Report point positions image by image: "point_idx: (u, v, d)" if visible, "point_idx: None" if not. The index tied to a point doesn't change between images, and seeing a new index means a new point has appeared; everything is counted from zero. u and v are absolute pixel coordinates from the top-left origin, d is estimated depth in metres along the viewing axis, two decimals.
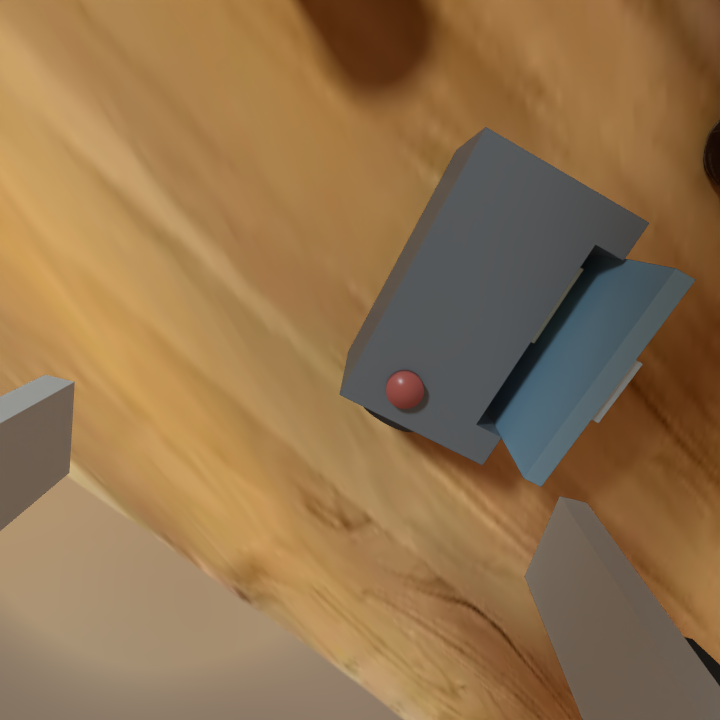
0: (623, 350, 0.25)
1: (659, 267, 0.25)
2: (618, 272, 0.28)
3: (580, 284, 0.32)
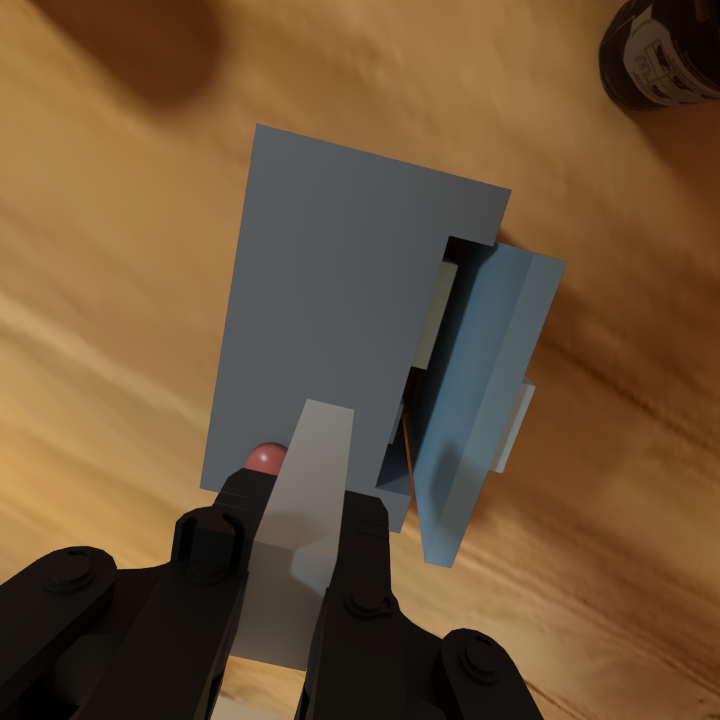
0: (498, 377, 0.18)
1: (521, 252, 0.17)
2: (493, 262, 0.21)
3: (468, 281, 0.25)
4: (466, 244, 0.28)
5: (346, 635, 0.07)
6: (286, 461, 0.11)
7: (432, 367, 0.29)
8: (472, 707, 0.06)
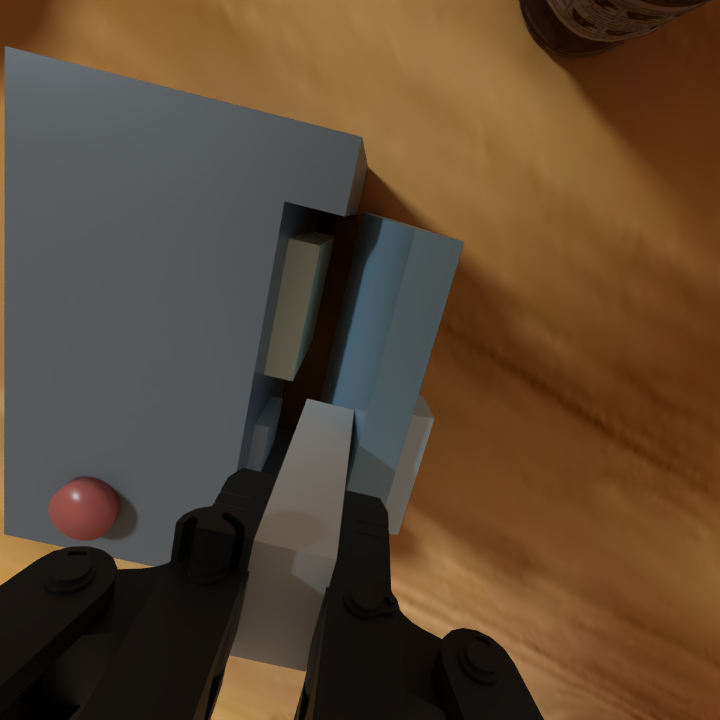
0: (379, 411, 0.12)
1: (404, 230, 0.12)
2: (380, 246, 0.16)
3: (362, 273, 0.19)
4: (364, 225, 0.22)
5: (346, 635, 0.07)
6: (286, 461, 0.11)
7: (331, 379, 0.23)
8: (472, 707, 0.06)
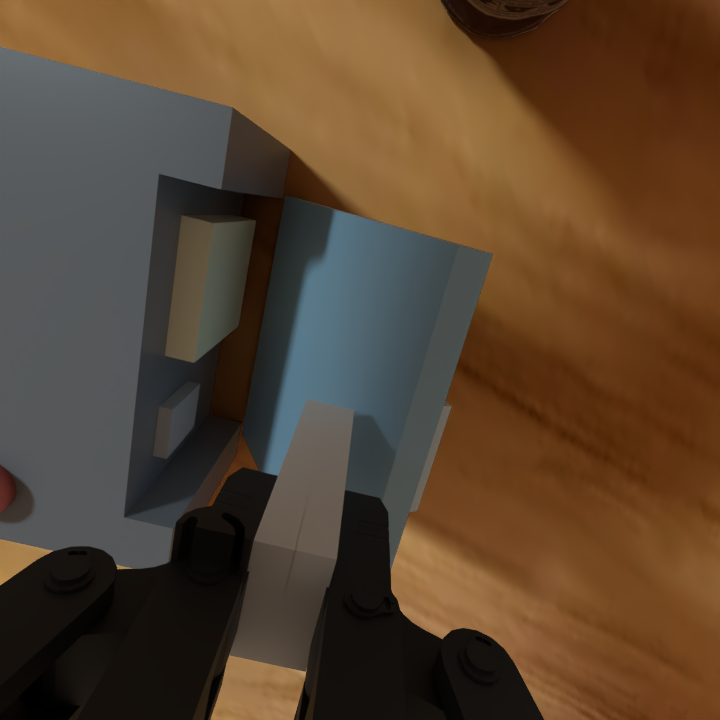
0: (418, 409, 0.13)
1: (428, 241, 0.13)
2: (365, 246, 0.16)
3: (319, 266, 0.19)
4: (298, 213, 0.22)
5: (346, 635, 0.07)
6: (286, 461, 0.11)
7: (276, 371, 0.23)
8: (472, 707, 0.06)
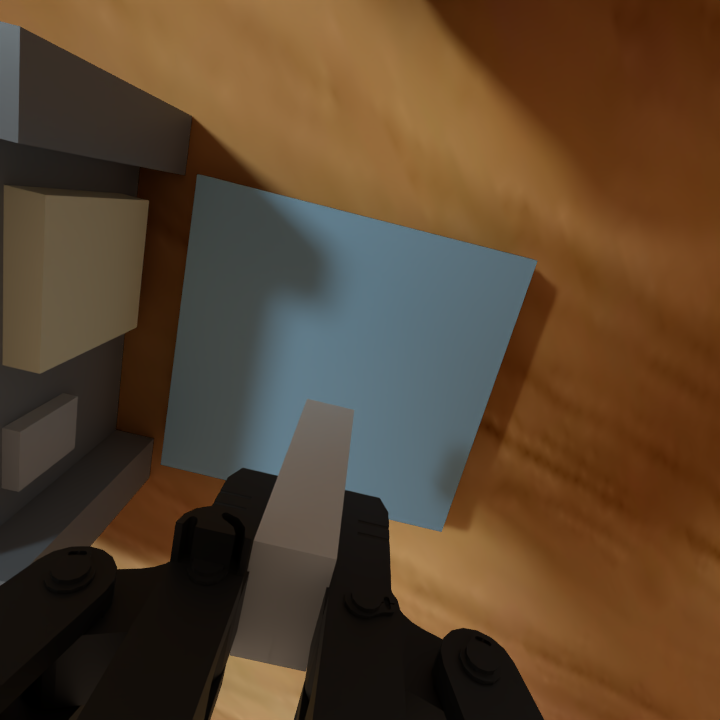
0: None
1: (504, 255, 0.19)
2: (417, 252, 0.19)
3: (329, 266, 0.20)
4: (252, 203, 0.19)
5: (346, 635, 0.07)
6: (286, 461, 0.11)
7: (250, 379, 0.21)
8: (472, 707, 0.06)
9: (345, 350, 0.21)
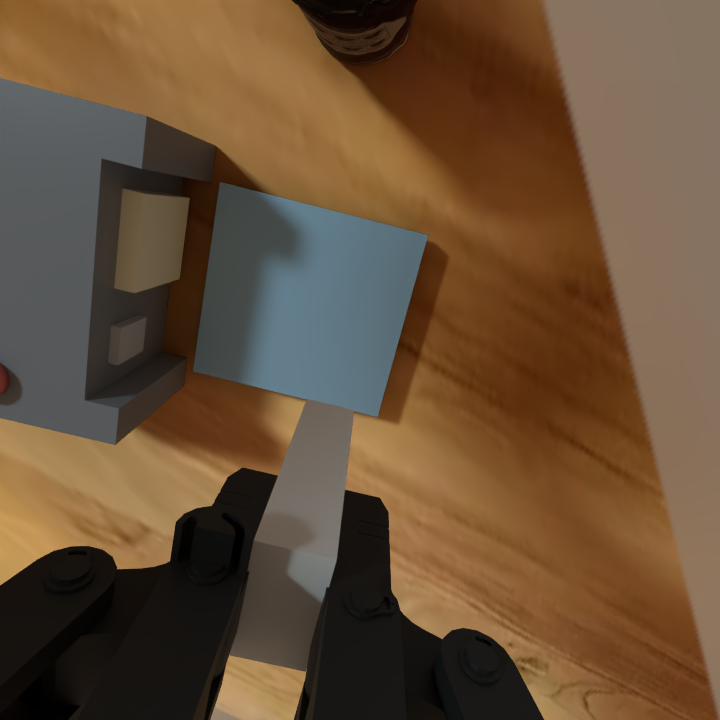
0: (409, 301, 0.33)
1: (408, 231, 0.31)
2: (354, 230, 0.31)
3: (300, 239, 0.32)
4: (253, 200, 0.31)
5: (346, 635, 0.07)
6: (286, 461, 0.11)
7: (251, 312, 0.33)
8: (472, 707, 0.06)
9: (311, 293, 0.33)
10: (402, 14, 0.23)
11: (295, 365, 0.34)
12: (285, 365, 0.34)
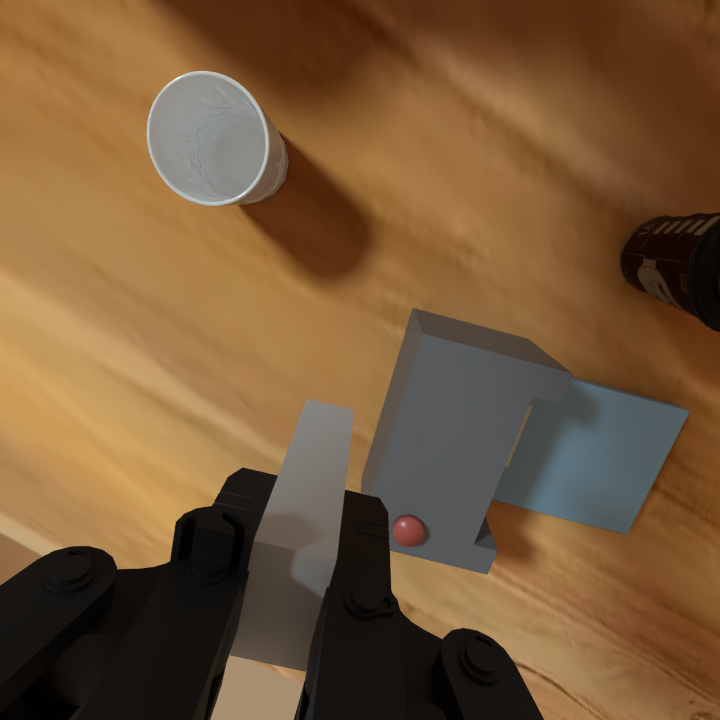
0: None
1: (675, 408, 0.42)
2: (634, 406, 0.42)
3: (592, 410, 0.42)
4: None
5: (346, 635, 0.07)
6: (286, 461, 0.11)
7: (543, 459, 0.44)
8: (472, 707, 0.06)
9: (593, 447, 0.43)
10: None
11: (569, 496, 0.45)
12: (561, 496, 0.45)
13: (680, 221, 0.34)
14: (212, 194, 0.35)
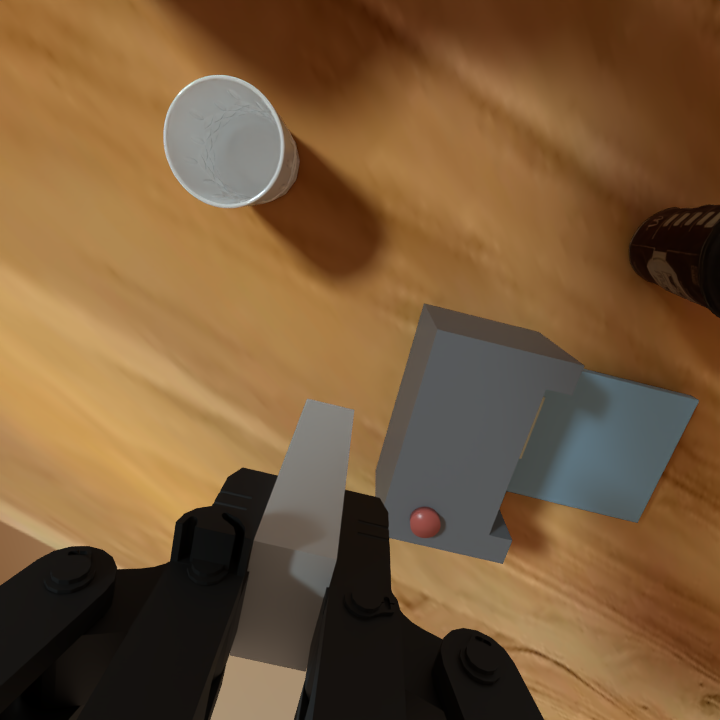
0: None
1: (684, 397, 0.43)
2: (644, 396, 0.43)
3: (602, 401, 0.43)
4: None
5: (346, 635, 0.07)
6: (286, 461, 0.11)
7: (554, 449, 0.45)
8: (472, 707, 0.06)
9: (603, 437, 0.44)
10: None
11: (581, 486, 0.46)
12: (573, 486, 0.46)
13: (690, 213, 0.34)
14: (226, 195, 0.35)
